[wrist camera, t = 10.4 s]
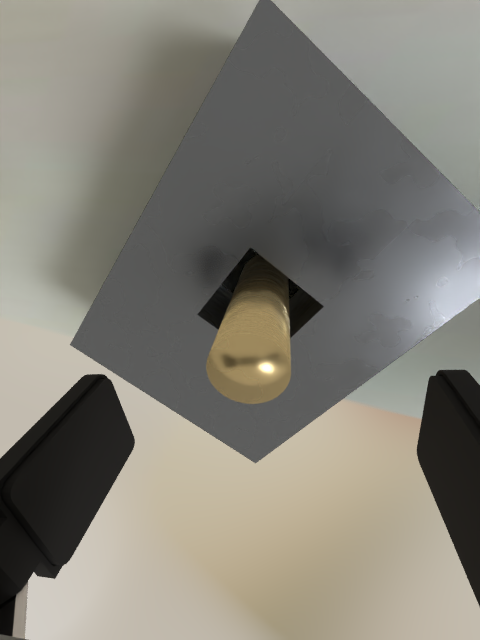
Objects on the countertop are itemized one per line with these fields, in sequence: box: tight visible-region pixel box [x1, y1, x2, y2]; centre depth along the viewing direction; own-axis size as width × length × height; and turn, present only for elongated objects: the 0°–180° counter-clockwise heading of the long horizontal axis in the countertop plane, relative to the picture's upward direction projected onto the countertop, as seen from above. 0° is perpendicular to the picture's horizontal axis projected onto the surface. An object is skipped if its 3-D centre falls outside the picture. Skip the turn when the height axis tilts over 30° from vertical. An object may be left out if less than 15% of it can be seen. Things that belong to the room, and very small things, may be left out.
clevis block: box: [70, 0, 480, 463], centre depth 17 cm, size 14×18×5 cm
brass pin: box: [206, 255, 291, 404], centre depth 15 cm, size 3×3×10 cm
